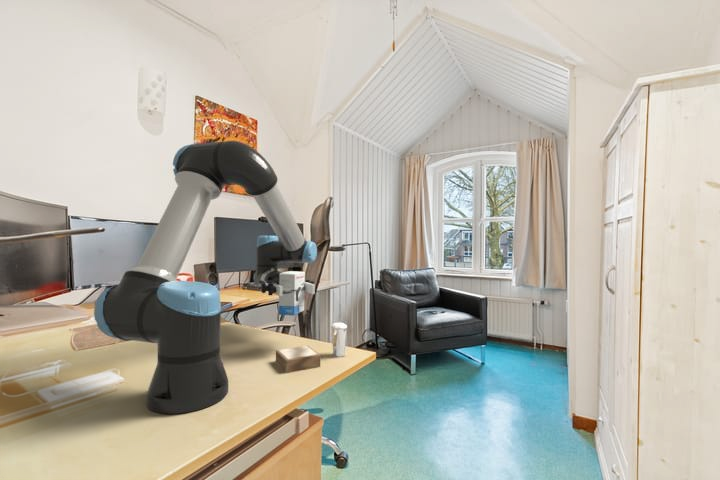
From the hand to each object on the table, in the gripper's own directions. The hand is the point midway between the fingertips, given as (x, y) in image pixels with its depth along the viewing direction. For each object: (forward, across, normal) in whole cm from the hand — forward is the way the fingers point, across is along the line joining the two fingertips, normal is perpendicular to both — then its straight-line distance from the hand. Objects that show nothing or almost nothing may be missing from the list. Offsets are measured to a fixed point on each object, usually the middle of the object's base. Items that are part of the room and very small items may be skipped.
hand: (297, 290), depth 97 cm
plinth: (+6, -2, +18) cm, 19 cm away
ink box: (-5, 0, +7) cm, 9 cm away
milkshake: (+5, +11, +19) cm, 22 cm away
